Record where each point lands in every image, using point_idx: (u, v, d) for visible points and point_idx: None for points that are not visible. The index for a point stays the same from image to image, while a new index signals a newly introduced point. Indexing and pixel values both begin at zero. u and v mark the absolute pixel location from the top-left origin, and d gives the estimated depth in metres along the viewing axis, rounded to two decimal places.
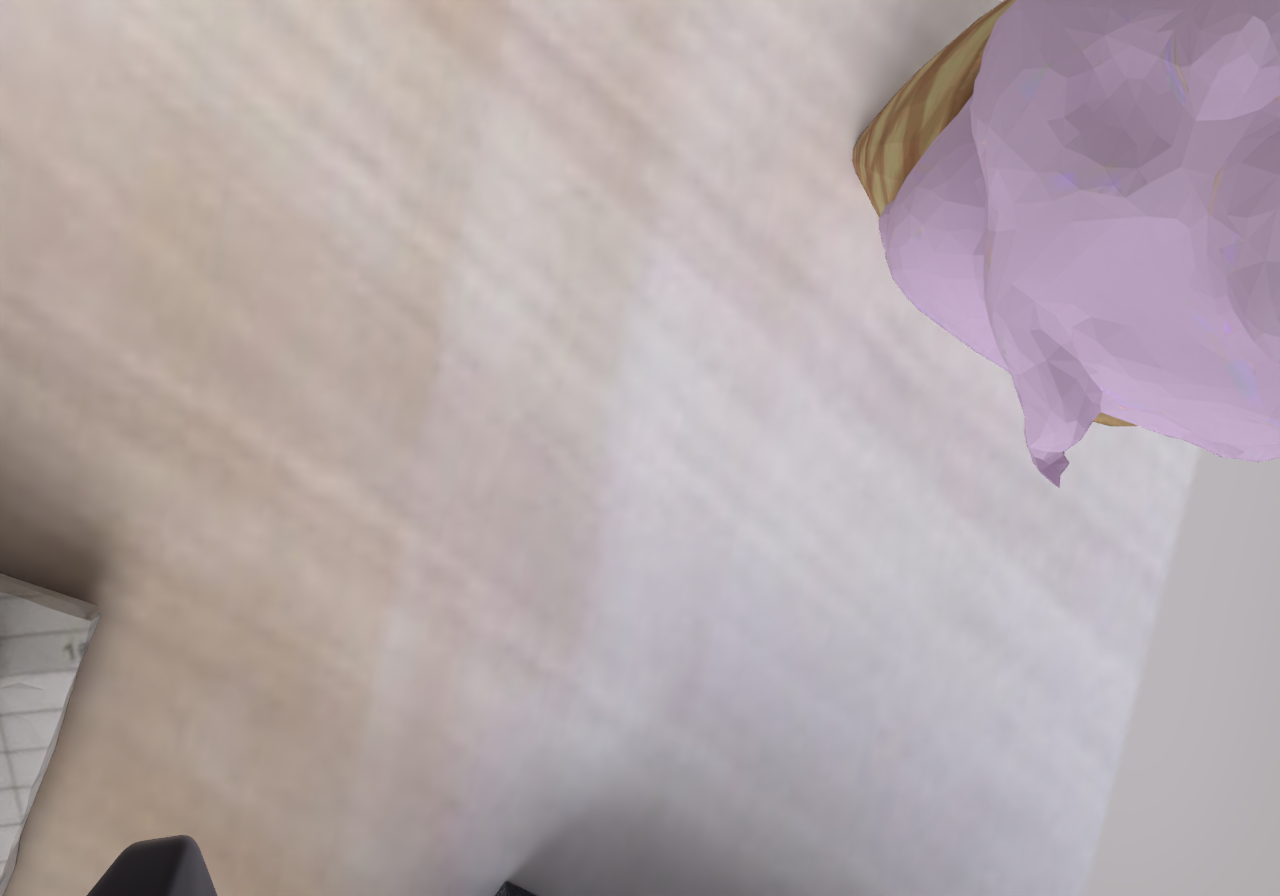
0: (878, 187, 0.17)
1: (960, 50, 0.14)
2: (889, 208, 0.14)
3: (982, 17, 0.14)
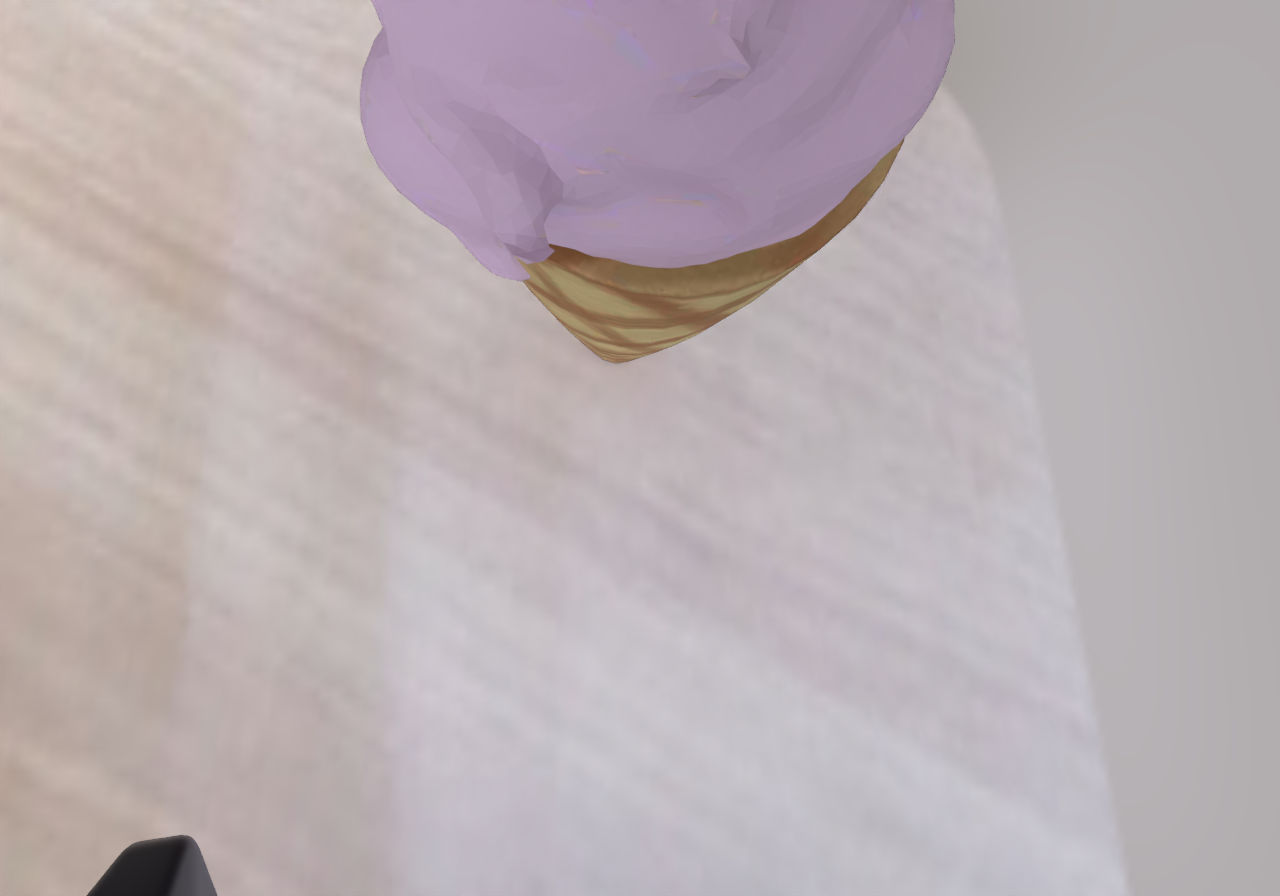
0: None
1: None
2: None
3: None
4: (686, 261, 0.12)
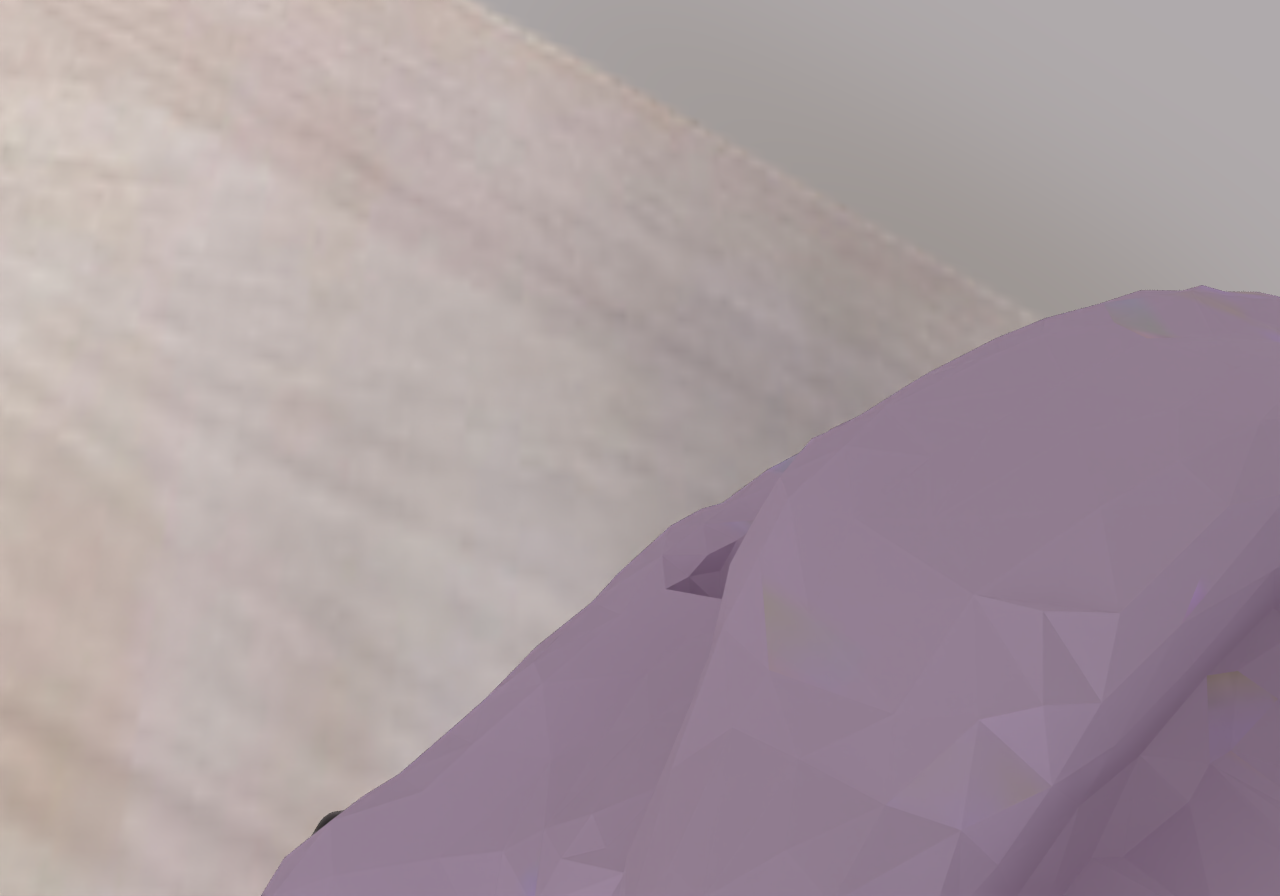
0: None
1: None
2: None
3: None
4: None
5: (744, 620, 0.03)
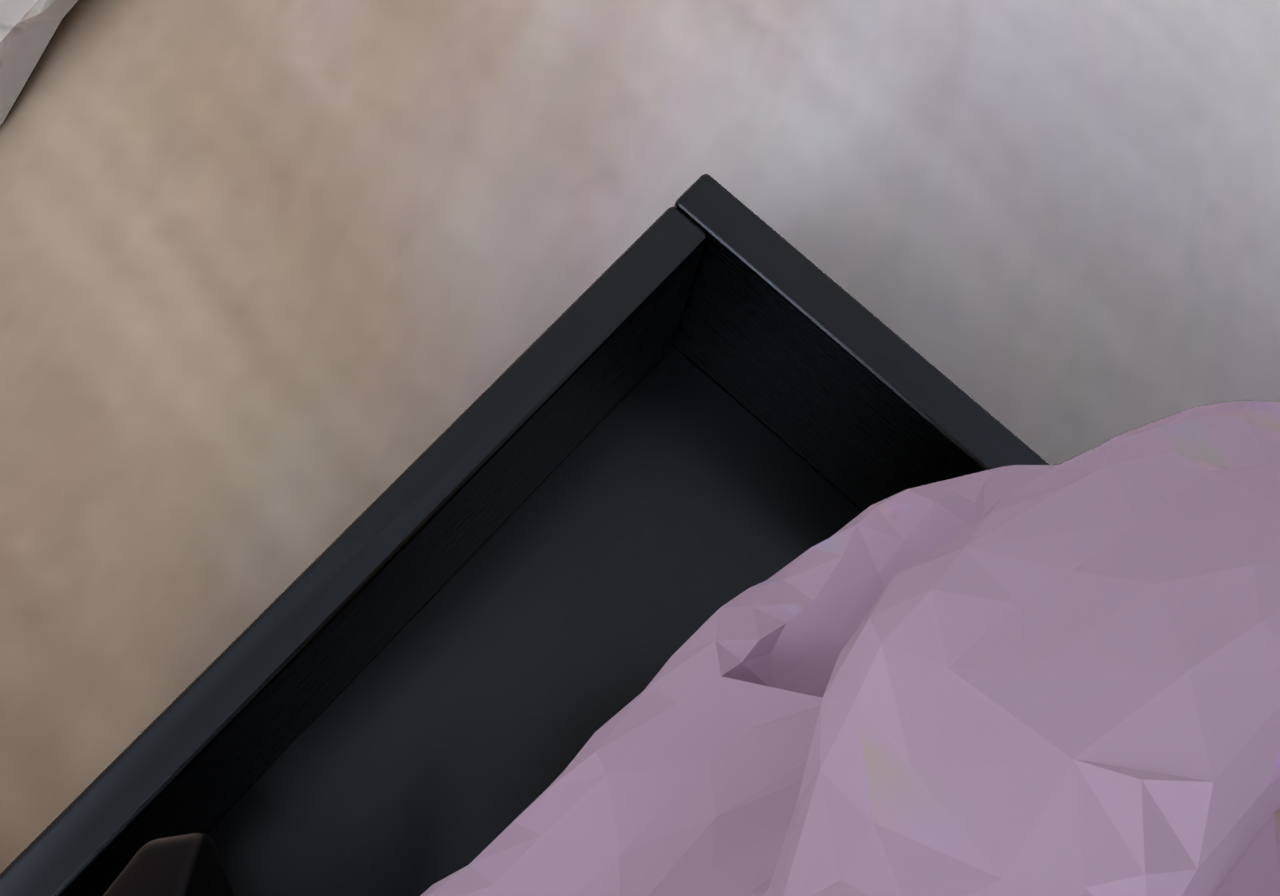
0: None
1: None
2: None
3: None
4: None
5: (843, 767, 0.03)
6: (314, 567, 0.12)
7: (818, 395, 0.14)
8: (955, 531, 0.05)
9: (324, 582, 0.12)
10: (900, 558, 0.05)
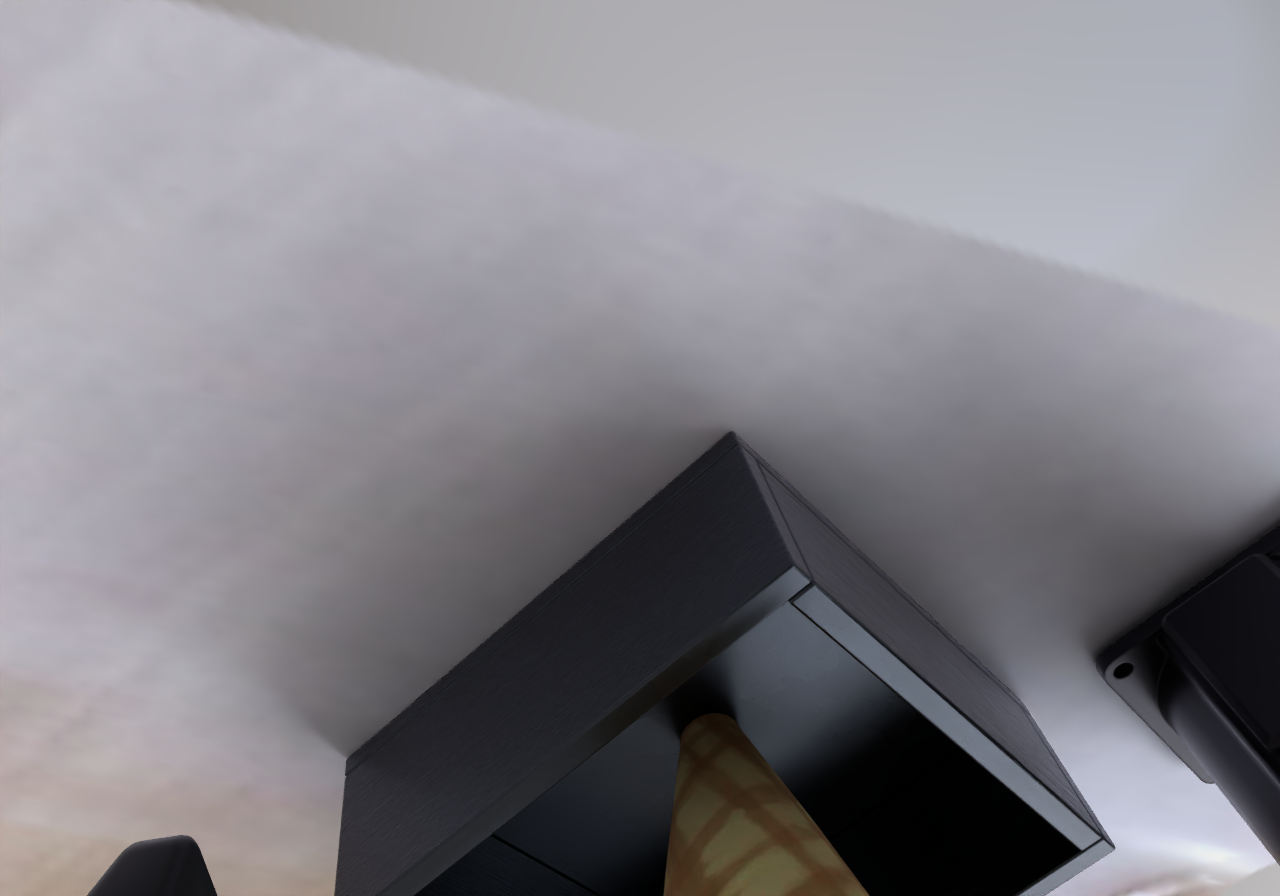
0: None
1: None
2: None
3: None
4: None
5: None
6: None
7: None
8: None
9: None
10: None
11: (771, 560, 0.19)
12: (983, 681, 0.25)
